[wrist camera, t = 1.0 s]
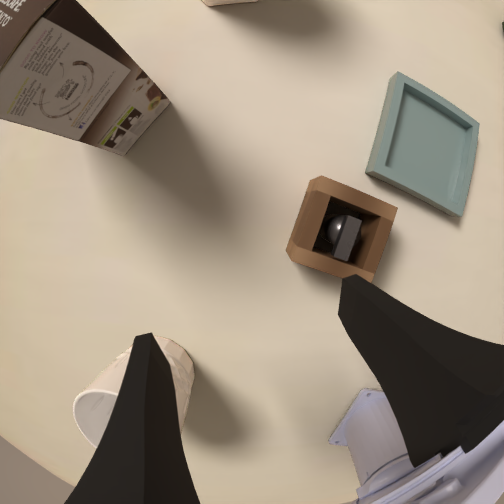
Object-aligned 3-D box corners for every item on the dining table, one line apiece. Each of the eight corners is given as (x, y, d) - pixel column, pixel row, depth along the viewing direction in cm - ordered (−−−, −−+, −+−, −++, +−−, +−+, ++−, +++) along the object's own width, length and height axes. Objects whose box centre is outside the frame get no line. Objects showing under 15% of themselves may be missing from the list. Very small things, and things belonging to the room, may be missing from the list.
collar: (374, 206, 22) (397, 207, 18) (350, 272, 23) (369, 287, 19) (309, 180, 22) (321, 175, 18) (285, 250, 23) (291, 260, 19)
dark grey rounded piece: (348, 219, 23) (369, 223, 18) (337, 252, 23) (355, 264, 18) (323, 209, 23) (340, 211, 18) (312, 243, 23) (325, 253, 18)
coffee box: (174, 100, 21) (70, -13, 6) (123, 158, 22) (-28, 120, 6) (113, 54, 21) (13, -33, 5) (70, 105, 22) (-54, 55, 6)
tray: (469, 126, 21) (479, 123, 19) (450, 215, 22) (461, 217, 21) (389, 78, 20) (397, 71, 19) (365, 172, 22) (372, 170, 20)
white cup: (142, 401, 26) (105, 466, 16) (111, 335, 25) (54, 390, 15) (212, 393, 26) (193, 470, 16) (184, 322, 25) (145, 386, 15)
